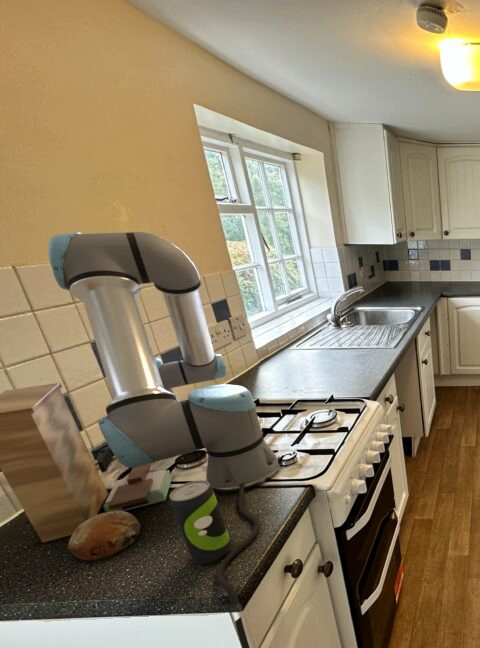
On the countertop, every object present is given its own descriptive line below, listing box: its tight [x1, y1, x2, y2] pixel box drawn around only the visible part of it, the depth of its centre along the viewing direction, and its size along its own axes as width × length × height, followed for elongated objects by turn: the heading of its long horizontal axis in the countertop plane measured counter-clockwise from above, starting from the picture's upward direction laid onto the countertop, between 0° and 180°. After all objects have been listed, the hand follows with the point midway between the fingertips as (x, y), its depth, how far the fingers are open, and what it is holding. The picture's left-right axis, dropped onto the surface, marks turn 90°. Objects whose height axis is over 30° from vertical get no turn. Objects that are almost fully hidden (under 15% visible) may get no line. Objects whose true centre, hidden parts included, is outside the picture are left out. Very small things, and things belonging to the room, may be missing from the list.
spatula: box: [108, 463, 153, 510], centre depth 96 cm, size 22×6×2 cm, turn 30°
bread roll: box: [68, 511, 141, 561], centre depth 81 cm, size 10×10×8 cm
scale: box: [102, 469, 173, 513], centre depth 94 cm, size 10×10×3 cm
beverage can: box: [169, 479, 232, 565], centre depth 76 cm, size 6×6×15 cm
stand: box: [0, 382, 109, 544], centre depth 83 cm, size 14×8×28 cm, turn 30°
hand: (139, 459), depth 98 cm, fingers open, 13 cm apart
